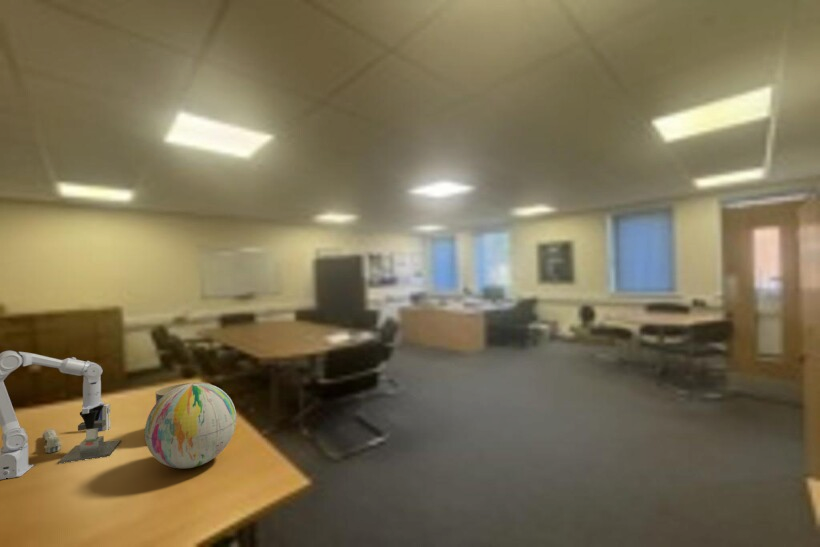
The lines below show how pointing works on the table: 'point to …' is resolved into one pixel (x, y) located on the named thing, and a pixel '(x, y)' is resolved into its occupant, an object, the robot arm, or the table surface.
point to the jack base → (91, 450)
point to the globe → (190, 425)
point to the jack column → (92, 430)
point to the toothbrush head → (51, 441)
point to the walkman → (105, 417)
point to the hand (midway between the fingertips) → (92, 426)
